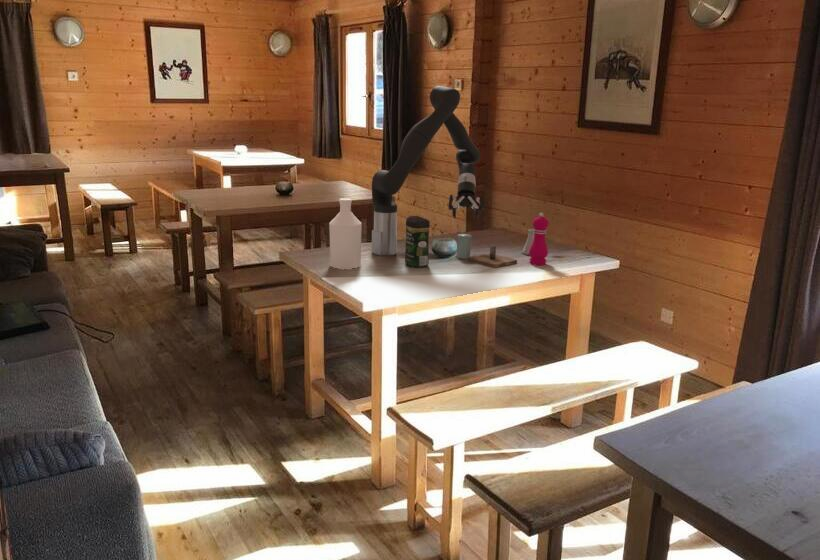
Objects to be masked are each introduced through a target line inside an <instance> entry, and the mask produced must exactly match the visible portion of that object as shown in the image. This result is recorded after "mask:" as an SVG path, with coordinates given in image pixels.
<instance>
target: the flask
mask: <svg viewBox="0 0 820 560" xmlns="http://www.w3.org/2000/svg"><path fill="white" fill-rule="evenodd" d="M527 232H528V235H527V239H526V242H525V244H524V246H523V249H522V251H521V254H523V255H526V256H530V254H529V250H530V247H531V245H532V243H533V240H534V229H532V228H531V229H528V230H527Z"/></svg>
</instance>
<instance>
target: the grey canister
mask: <svg viewBox="0 0 820 560" xmlns="http://www.w3.org/2000/svg"><path fill="white" fill-rule="evenodd" d="M471 247H472V234H468V233H458V234H457V247H456V248H457V249H456V258H457V259H460V258H461V259H465V260H468V259H467V258H468V257H471Z"/></svg>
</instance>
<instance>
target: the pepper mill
mask: <svg viewBox="0 0 820 560" xmlns="http://www.w3.org/2000/svg"><path fill="white" fill-rule="evenodd" d="M532 225H533V228H534V229H533V230H534V240H533V243H532V245H531V247H530V250H529V254H530V255H529V256H530V258H529V263H531V264H530V265H533V264H535V266H544V264H545V265H546V263H547V259H546V258H547V256H548V255H549V250H548V247H547V243H546V234H547V233H548V232H547V231H548V230H547V228H549V225H550V224H549V219H547V217H545V216H544V212H540V213H539V214H538V216H537V217H535V218H534V219H533V221H532Z"/></svg>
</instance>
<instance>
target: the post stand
mask: <svg viewBox="0 0 820 560" xmlns="http://www.w3.org/2000/svg"><path fill="white" fill-rule="evenodd" d="M489 247H490V249H489V253H486V254H480V255H475V256H470V257H468V259H467V261H468V260H469V262H472V263H475V262H476V264H479V263H480V264H479V265H483V266H486V265H487V267H490V266H491V267H490V268H493V267H495V268H499V266H500V267H503V266H504V265H505V266H508V265H509V264H510V265H514V263H515V264H517V263H518V259H514V258H510V257H506V256H503V255H499V254H496V250H497V246H496V245H489Z"/></svg>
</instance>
